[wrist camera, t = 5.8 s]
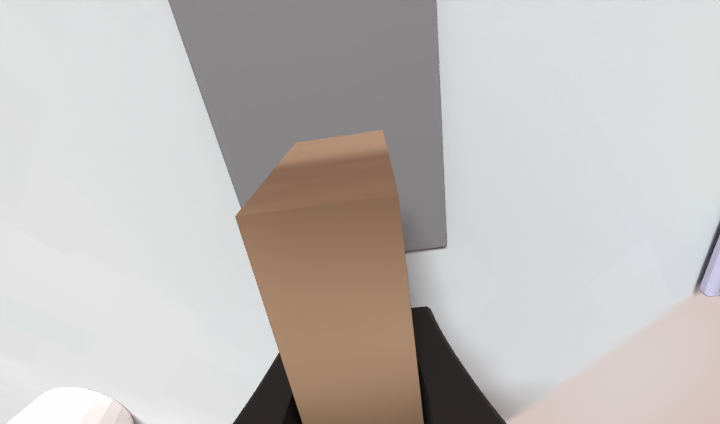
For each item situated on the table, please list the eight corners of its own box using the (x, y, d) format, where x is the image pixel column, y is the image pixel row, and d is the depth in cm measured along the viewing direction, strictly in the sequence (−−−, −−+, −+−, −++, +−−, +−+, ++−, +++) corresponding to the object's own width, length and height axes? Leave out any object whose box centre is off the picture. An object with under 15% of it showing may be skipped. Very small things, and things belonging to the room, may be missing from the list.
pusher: (219, 153, 10) (97, 234, 5) (464, 118, 9) (556, 173, 5) (311, 439, 15) (288, 603, 11) (471, 426, 15) (519, 592, 10)
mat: (423, -219, 11) (426, -227, 10) (445, 241, 18) (447, 245, 18) (121, -151, 11) (113, -156, 11) (264, 264, 19) (262, 269, 19)
